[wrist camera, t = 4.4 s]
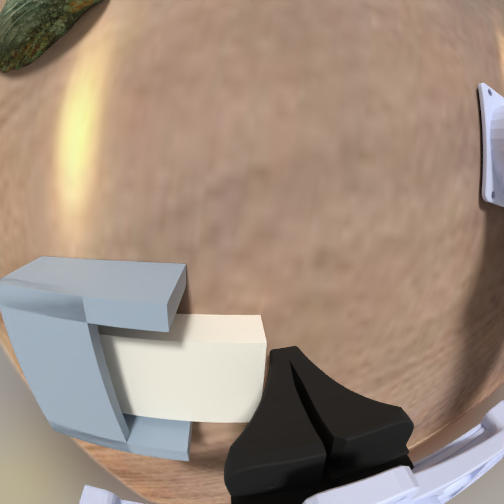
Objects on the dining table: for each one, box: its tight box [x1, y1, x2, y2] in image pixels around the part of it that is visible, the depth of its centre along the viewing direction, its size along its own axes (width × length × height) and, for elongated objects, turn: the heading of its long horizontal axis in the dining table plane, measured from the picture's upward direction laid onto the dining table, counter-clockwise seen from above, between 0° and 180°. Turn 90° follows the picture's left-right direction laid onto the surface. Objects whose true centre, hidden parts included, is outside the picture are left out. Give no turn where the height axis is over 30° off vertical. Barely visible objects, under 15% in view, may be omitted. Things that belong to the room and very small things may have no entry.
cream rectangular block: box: [97, 314, 267, 423], centre depth 12 cm, size 8×5×3 cm, turn 88°
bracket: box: [0, 256, 193, 461], centre depth 11 cm, size 8×9×4 cm
